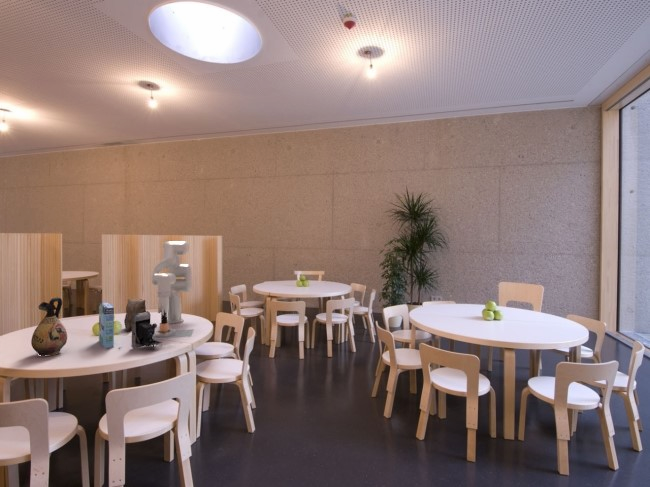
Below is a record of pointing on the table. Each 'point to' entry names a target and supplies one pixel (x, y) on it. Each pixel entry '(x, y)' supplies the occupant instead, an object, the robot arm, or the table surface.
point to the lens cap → (164, 327)
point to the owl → (133, 311)
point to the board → (179, 334)
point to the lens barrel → (166, 334)
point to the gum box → (106, 325)
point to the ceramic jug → (49, 330)
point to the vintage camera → (143, 330)
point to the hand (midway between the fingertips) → (164, 323)
